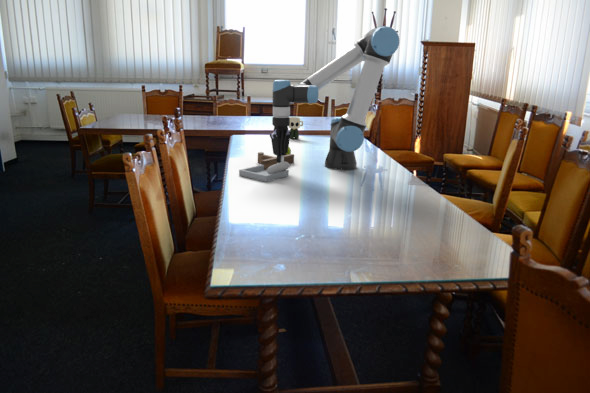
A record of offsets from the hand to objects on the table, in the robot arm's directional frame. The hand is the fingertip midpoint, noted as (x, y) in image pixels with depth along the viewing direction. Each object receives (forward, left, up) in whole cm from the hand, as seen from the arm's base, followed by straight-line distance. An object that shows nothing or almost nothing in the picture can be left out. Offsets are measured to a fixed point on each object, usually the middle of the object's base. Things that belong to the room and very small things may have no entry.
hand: (280, 169), depth 214 cm
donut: (-1, +5, +1) cm, 6 cm away
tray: (0, +11, -1) cm, 11 cm away
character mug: (+50, -75, -1) cm, 90 cm away
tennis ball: (+17, -23, -1) cm, 29 cm away
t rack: (+13, -8, -1) cm, 16 cm away
